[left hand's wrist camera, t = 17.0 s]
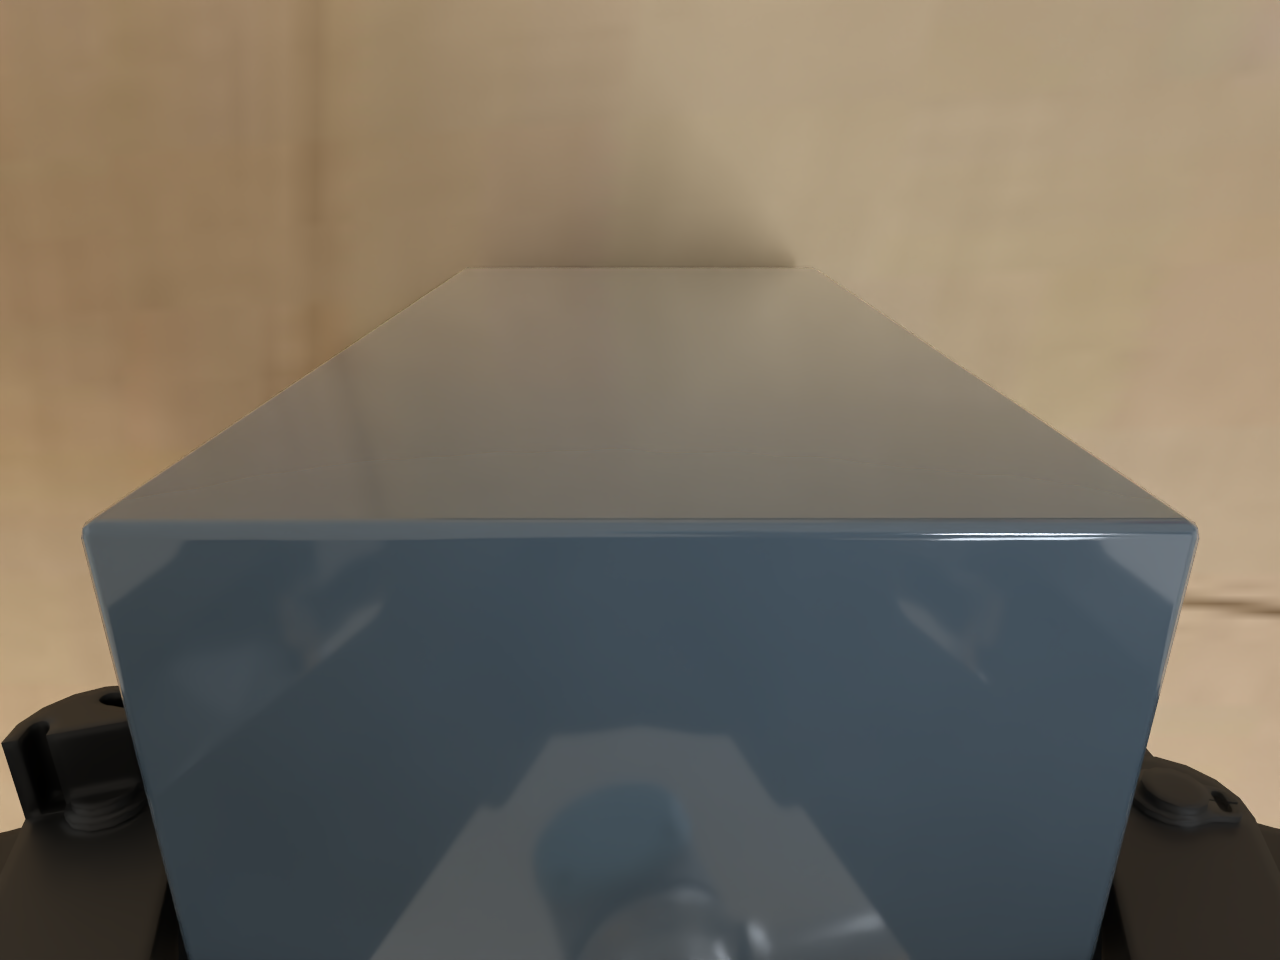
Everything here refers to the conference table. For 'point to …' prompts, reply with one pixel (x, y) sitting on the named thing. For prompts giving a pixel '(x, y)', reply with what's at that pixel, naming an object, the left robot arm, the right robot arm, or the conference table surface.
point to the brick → (640, 640)
